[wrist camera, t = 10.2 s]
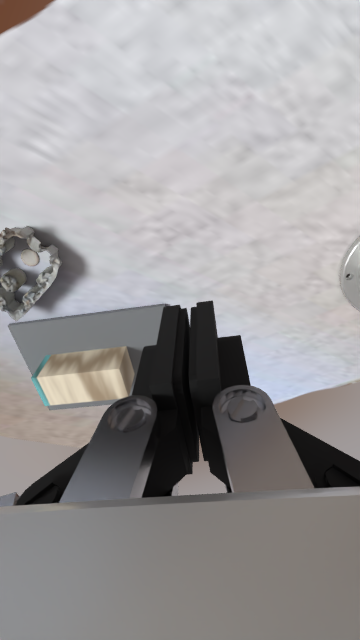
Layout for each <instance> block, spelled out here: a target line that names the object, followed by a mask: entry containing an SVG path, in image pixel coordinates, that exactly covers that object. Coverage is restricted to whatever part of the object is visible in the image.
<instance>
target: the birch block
mask: <svg viewBox="0 0 360 640" xmlns="http://www.w3.org/2000/svg"><path fill="white" fill-rule="evenodd" d="M134 375H135V373H134V370H133V367H132V363H131V360H130V357H129V353H128V350H127V347H126V346H124V347H115V348H107V349H98V350H89V351H80V352H72V353H63V354H54V355H46V356H45V358H44V359H43V361H42V362H41V364H40V365H39V367H38V368H37V370H36V371H35V373H34V374H33V376H32V378H31V379H32V381H33V383H34V385H35V387H36V389H37V391H38V393H39V395H40V397H41V399H42V401H43V403H44V405H45V406H50V405H60V404H71V403H81V402H92V401H102V400H113V399H121V398H124V397H128V396H129V395H130V391H131V387H132V383H133V379H134Z"/></svg>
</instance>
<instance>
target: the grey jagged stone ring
mask: <svg viewBox="0 0 360 640" xmlns="http://www.w3.org/2000/svg"><path fill="white" fill-rule="evenodd" d="M34 232H35V231H34V230H33V229H31V228H30V227H29V226H26V227H25V228H23V229H18V228H16V227H15V228H12V229H9V228H5V230H3V231H2V232H1V234H0V267H1V266H2V264H3V260H2V258H1V256H2V255H3V254H4V253H5V252H7V251H9V250H10V249H12V248H13V247H14V245H15V239H14V238H13V236H17V237H19V238H27V244H28V245H29V247H30V248H31V249H24V250H23V251H22V253H21V259H22V261H23V262H24V263H25V264H26V265H28V266H35V265H37V264H38V263H39V256H38V254H37V253H36V252H43V251H48V252H49V253H50V255H51V256H50V260H49V261H50V264H51V265H52V266H49V267H47V268H46V269H45V270H44V271H43V272H42V273H41V274H40V275H39V277H38V278H37V280H36V282H37V284H38V285H35V286H34V287H33V288H31V289H30V290H29V291H28V292H27V293H26V294H25V295H24V296H23V303H19V302H17V301H16V300H15V298H14V297H15V295H14V292H15V291H17V290H18V289H19V288H20V287H21V286H22V285H23V284H24V283H25V282H26V279H27V278H26V275H25V273H24V272H23V271H22V270H21V269H18V268H13V269H11V270H9V271H8V272H7V273H6V274H4V275H3V276H2V277H1V279H0V282H1V284H2V286H1V287H0V309H1V311H5V312H7V313H8V314H9V315H10V316H11V317H12V318H13V319H14V320H15V321H18V320H19V319H20V318H21V317H22V316H24V315H25V314H26V313H27V312H28V311H29V309H30V308H31V307H32V306H33V305H34V304H35V302H36V301H37V300H38V299H39V298H40V297H41V296H42V294H43V293H44V292H45V291H46V290H47V289H48V288H49V287H50V285H51V284H52V282H53V281H54V279H55V278H56V275H57V272H58V268H59V267H60V266H61V265H62V261H61V260H60V259H59V257H58V251H59V250H58V249H57V248H56V247H55V246H54V245H50V246H48V247H43V246H41V245H40V244H41V242H40V241H39V240H37V239H36V238H35V237H34ZM35 251H36V252H35Z"/></svg>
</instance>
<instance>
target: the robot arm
mask: <svg viewBox="0 0 360 640" xmlns="http://www.w3.org/2000/svg"><path fill="white" fill-rule="evenodd" d="M347 274H348V275H347ZM346 275H347V276H346ZM340 286H341V289H342V292H343V294H344V296H345V297H346V299H347V300H348V302H349V303H350V304H351V305H352V306H353V307H354V308H356V309H357V310H359V311H360V237H359V238H357V239H356V241H355V242H354V243H353V244H352V246H351V247H350V248H349V250H348V252H347V254H346V255H345V257H344V260H343V263H342V266H341V270H340ZM199 438H200V443H201V447H202V453H203V458H204V461H208V462H209V467H210V472H211V473H212V474H213V475H215V476H216V477H217V478H218V479H220V480H221V481H222V482H223V483H224V484H225V488H226V493H219V494H202V495H184V496H178V487H179V486H178V482H179V481H180V480H181V479H182V478H183V477H184V476H185V475H186V474H192V464H193V462H198V461H199ZM0 640H360V461H358V460H356V459H355V458H353V457H351V456H349V455H347V454H345V453H344V452H342V451H340V450H338V449H336V448H334V447H332V446H330V445H329V444H327V443H325V442H323V441H321V440H320V439H318V438H316V437H314V436H312V435H310V434H309V433H307V432H305V431H303V430H301V429H299V428H298V427H296V426H294V425H292V424H290V423H288V422H287V421H285V420H283V419H281V418H280V417H279V415H278V413H277V411H276V409H275V407H274V405H273V403H272V401H271V399H270V397H269V396H268V395H267V393H265V392H264V391H262V390H261V389H259V388H256V387H254V386H251V385H250V380H249V375H248V370H247V365H246V360H245V356H244V351H243V346H242V341H241V336H240V335H238V336H230V337H221V338H218V336H217V329H216V321H215V314H214V306H213V301H206V302H198V303H197V307H192V308H191V319H190V325H189V319H188V313H187V309H186V308H184V309H181V307H180V305H175V306H167V307H163V312H162V317H161V323H160V328H159V333H158V339H157V344H156V345H151V346H145V347H144V348H143V351H142V355H141V359H140V363H139V367H138V371H137V375H136V379H135V384H134V388H133V392H132V396H128V397H124V398H121V399H120V400H118V401H116V402H114V403H113V404H112V405H111V406H110V407H109V408H108V409H107V410H106V412H105V413H104V414H103V416H102V418H101V420H100V422H99V424H98V426H97V428H96V430H95V432H94V434H93V436H92V438H91V440H90V442H89V443H88V444H87V445H85V446H84V447H83V448H81V449H80V450H78V451H77V452H76V453H74V454H73V455H72V456H70V457H69V458H67V459H66V460H65V461H64V462H62V463H61V464H59V465H58V466H56V467H55V468H54V469H52V470H51V471H50V472H48V473H47V474H46V475H44V476H43V477H41V478H40V479H39V480H37V481H36V482H35V483H33V484H32V485H31V486H30V487H29V488H27V489H26V490H25V491H24V493H23V494H22V495H21V496H19V495H18V494H17V493H16V492H15V493H11V494H8V495H4V496H1V497H0Z"/></svg>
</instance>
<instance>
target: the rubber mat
mask: <svg viewBox="0 0 360 640" xmlns="http://www.w3.org/2000/svg"><path fill="white" fill-rule="evenodd" d="M163 307H166V305H165V304H159V305H151V306H144V307H136V308H128V309H120V310H113V311H105V312H97V313H89V314H82V315H74V316H66V317H58V318H51V319H43V320H35V321H28V322H20V323H12V324H9V325H8V327H9V330H10V332H11V334H12V336H13V338H14V340H15V342H16V344H17V346H18V348H19V350H20V352H21V354H22V356H23V358H24V360H25V362H26V364H27V366H28V368H29V370H30V372H31V374H32V376H33V374H34V373H35V371H36V370H37V368H38V367H39V365H40V364H41V362H42V361H43V359H44V358H45V356H46V355H54V354H63V353H72V352H80V351H89V350H98V349H107V348H115V347H124V346H126V347H127V350H128V353H129V357H130V360H131V363H132V367H133V370H134V373H135V375H134V379H133V383H132V387H131V391H130V395H129V396H132V392H133V388H134V384H135V379H136V375H137V371H138V367H139V363H140V359H141V355H142V351H143V348H144V347H145V346H151V345H156V344H157V339H158V333H159V328H160V323H161V317H162V312H163ZM118 400H120V399H113V400H102V401H92V402H81V403H71V404H60V405H50V406H48V408H49V410H57V409H68V408H78V407H89V406H100V405H110V404H113V403H114V402H116V401H118Z"/></svg>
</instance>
